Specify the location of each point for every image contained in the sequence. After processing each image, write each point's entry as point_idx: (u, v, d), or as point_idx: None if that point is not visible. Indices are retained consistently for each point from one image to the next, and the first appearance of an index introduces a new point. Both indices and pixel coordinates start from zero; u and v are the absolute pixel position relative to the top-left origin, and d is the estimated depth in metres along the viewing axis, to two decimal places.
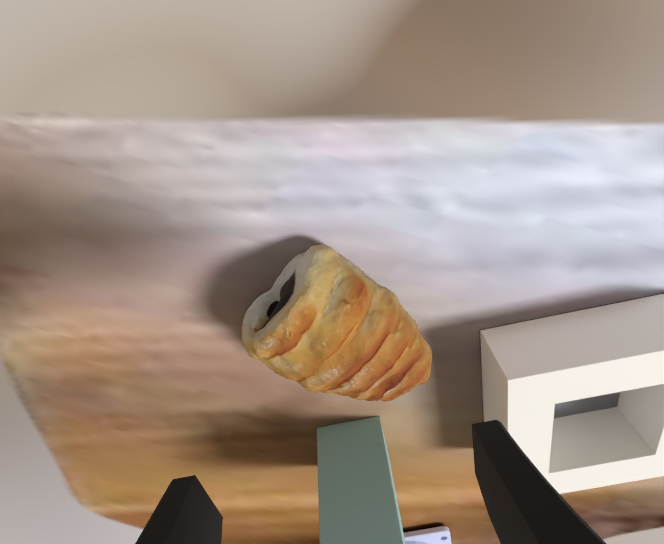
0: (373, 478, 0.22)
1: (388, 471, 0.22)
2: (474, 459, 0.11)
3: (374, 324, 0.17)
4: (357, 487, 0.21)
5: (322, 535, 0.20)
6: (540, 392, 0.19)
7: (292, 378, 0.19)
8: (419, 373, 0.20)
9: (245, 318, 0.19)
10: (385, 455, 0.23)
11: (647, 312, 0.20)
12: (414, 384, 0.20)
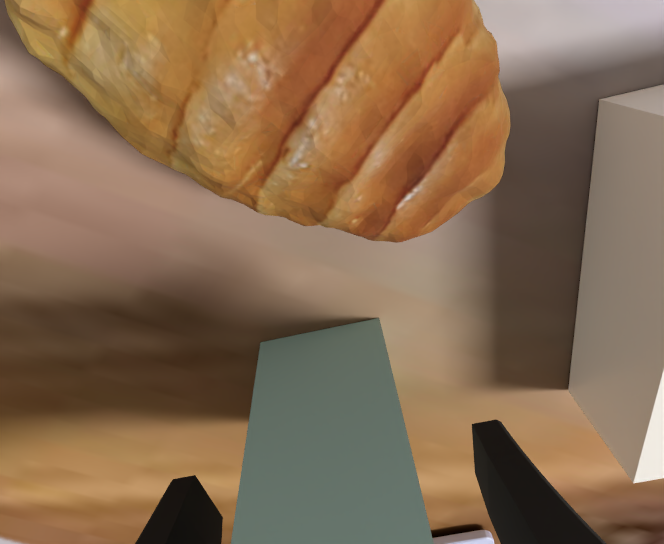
0: (364, 422, 0.10)
1: (398, 409, 0.10)
2: (474, 459, 0.11)
3: None
4: (329, 441, 0.10)
5: None
6: None
7: (153, 126, 0.07)
8: (485, 139, 0.08)
9: None
10: (391, 380, 0.11)
11: None
12: (471, 175, 0.08)
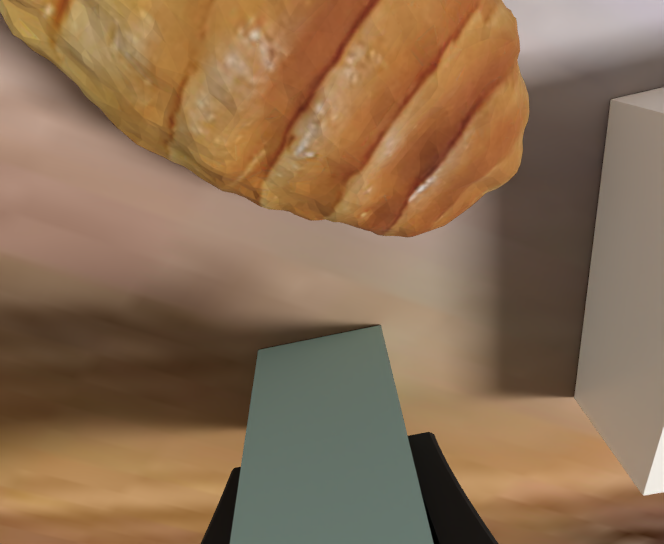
0: (366, 437, 0.09)
1: (401, 422, 0.10)
2: None
3: None
4: (329, 457, 0.09)
5: None
6: None
7: (148, 113, 0.07)
8: (504, 125, 0.07)
9: None
10: (394, 391, 0.10)
11: None
12: (488, 165, 0.08)
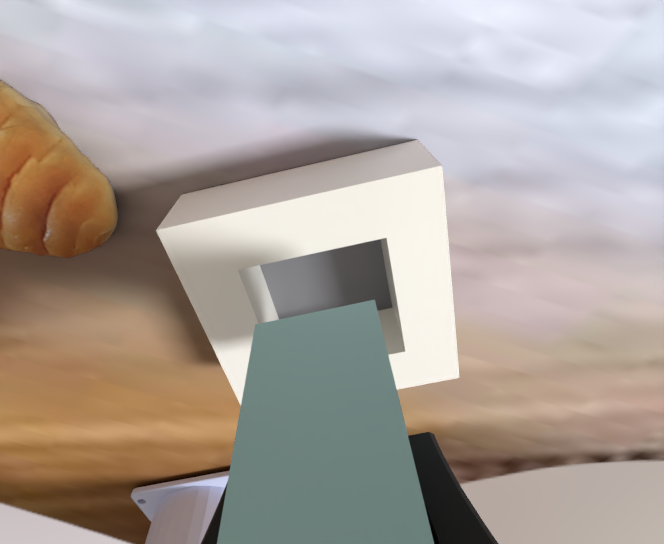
0: (358, 399, 0.10)
1: (393, 385, 0.10)
2: None
3: None
4: (322, 418, 0.09)
5: (227, 525, 0.08)
6: (209, 250, 0.15)
7: None
8: (75, 204, 0.15)
9: None
10: (386, 358, 0.11)
11: (366, 159, 0.16)
12: (77, 222, 0.16)
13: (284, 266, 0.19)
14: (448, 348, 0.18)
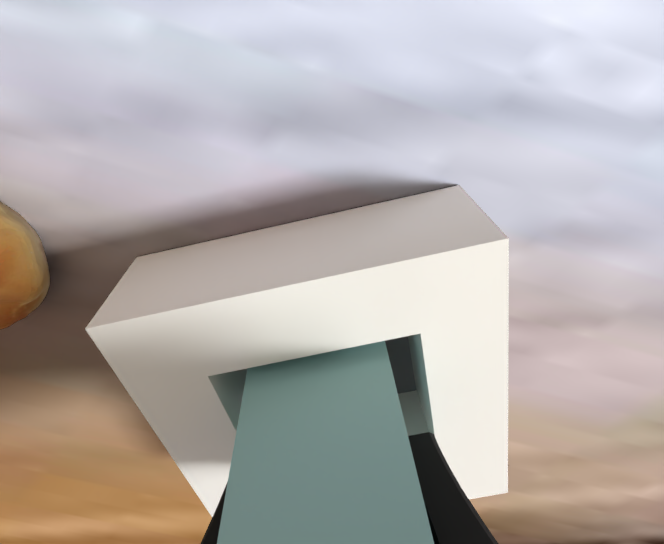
0: (359, 399, 0.10)
1: (393, 385, 0.10)
2: None
3: None
4: (323, 417, 0.09)
5: (227, 525, 0.08)
6: (165, 353, 0.10)
7: None
8: None
9: None
10: (386, 358, 0.11)
11: (389, 216, 0.12)
12: None
13: None
14: (497, 461, 0.13)
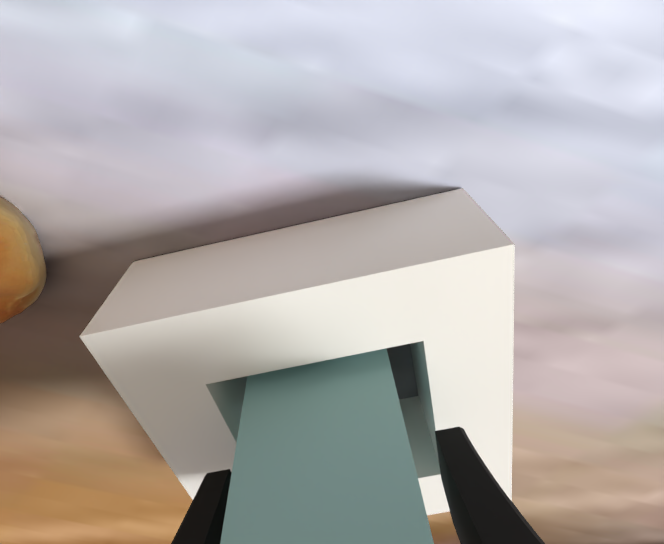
0: (357, 385, 0.10)
1: (389, 372, 0.10)
2: (439, 465, 0.11)
3: None
4: (322, 402, 0.10)
5: (233, 502, 0.08)
6: (162, 361, 0.10)
7: None
8: None
9: None
10: None
11: (391, 220, 0.11)
12: None
13: None
14: (500, 469, 0.13)
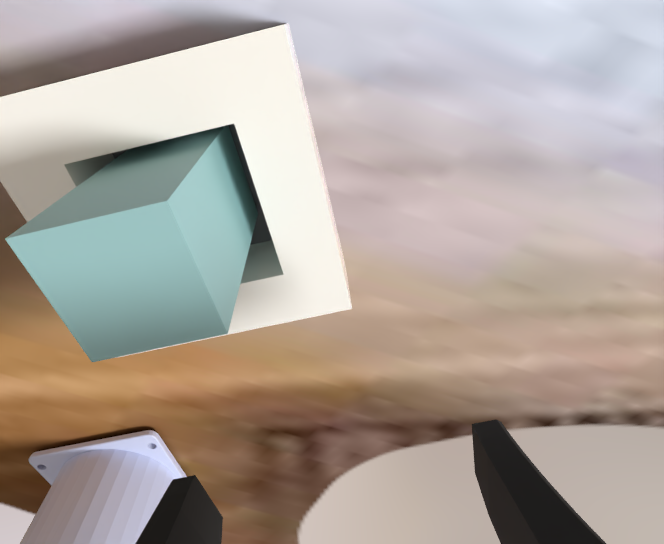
0: (179, 155, 0.13)
1: (206, 147, 0.13)
2: (474, 459, 0.11)
3: None
4: (148, 165, 0.13)
5: (54, 205, 0.11)
6: (24, 138, 0.13)
7: None
8: None
9: None
10: (212, 140, 0.14)
11: None
12: None
13: None
14: (333, 271, 0.16)
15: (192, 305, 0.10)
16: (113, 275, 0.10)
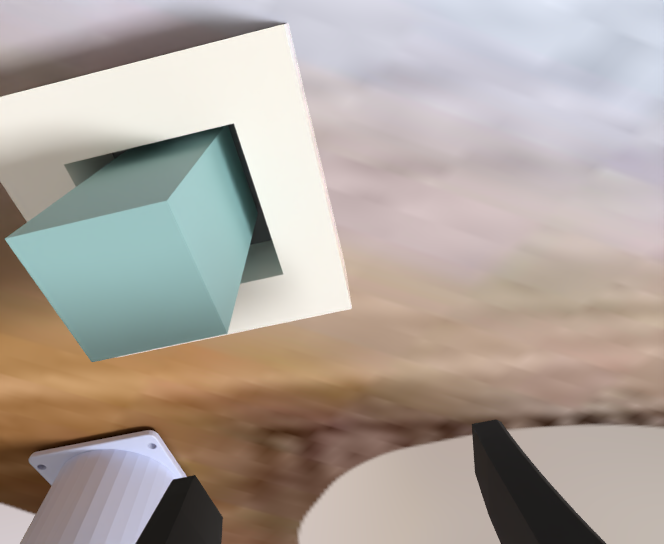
0: (179, 155, 0.13)
1: (206, 147, 0.13)
2: (474, 459, 0.11)
3: None
4: (148, 165, 0.13)
5: (53, 205, 0.11)
6: (23, 138, 0.13)
7: None
8: None
9: None
10: (212, 140, 0.14)
11: None
12: None
13: None
14: (333, 270, 0.16)
15: (191, 305, 0.10)
16: (113, 275, 0.10)
